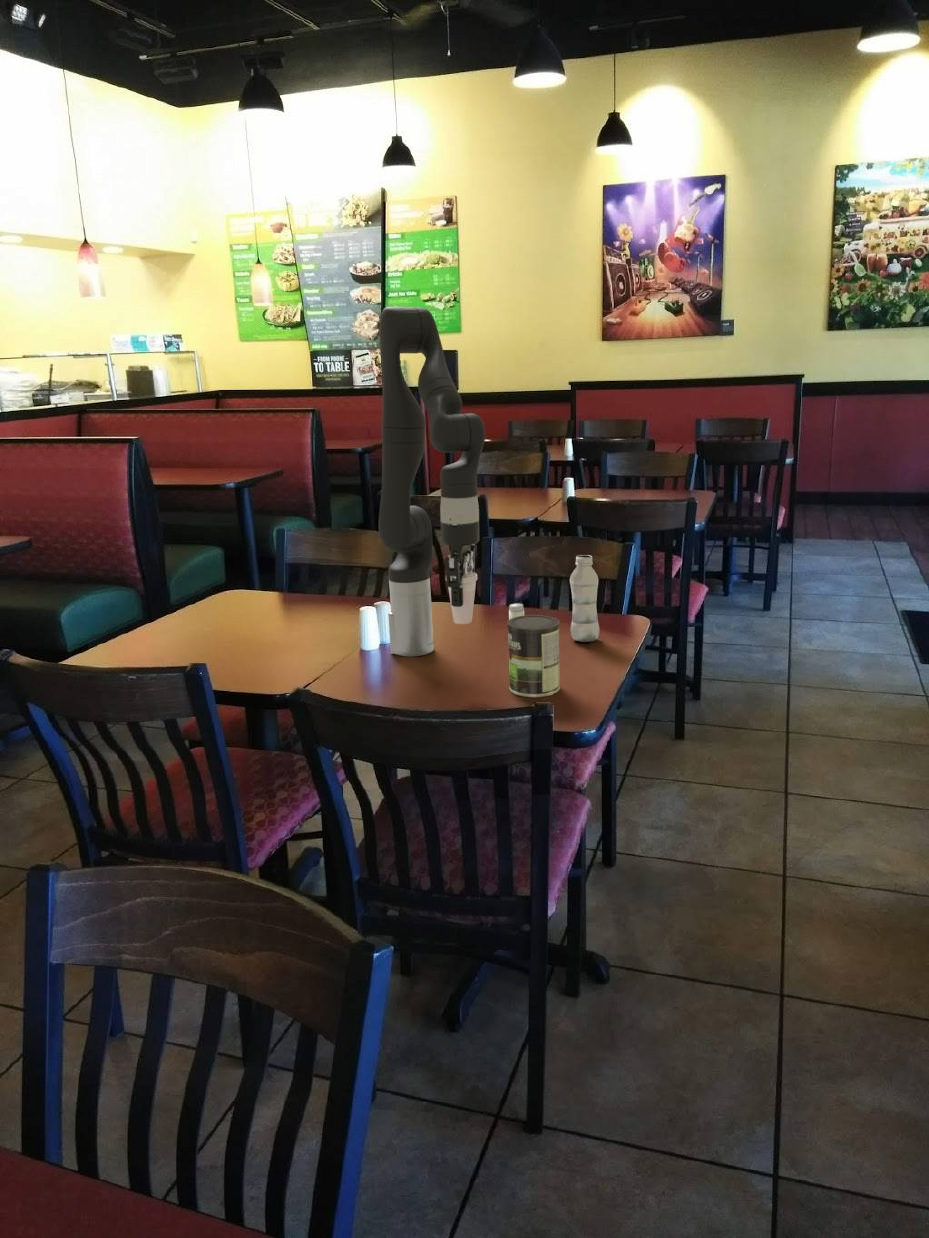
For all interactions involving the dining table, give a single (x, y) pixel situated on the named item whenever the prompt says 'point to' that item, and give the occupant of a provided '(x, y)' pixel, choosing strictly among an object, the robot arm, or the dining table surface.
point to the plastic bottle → (584, 600)
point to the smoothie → (465, 600)
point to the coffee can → (533, 655)
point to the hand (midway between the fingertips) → (461, 601)
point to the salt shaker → (516, 610)
